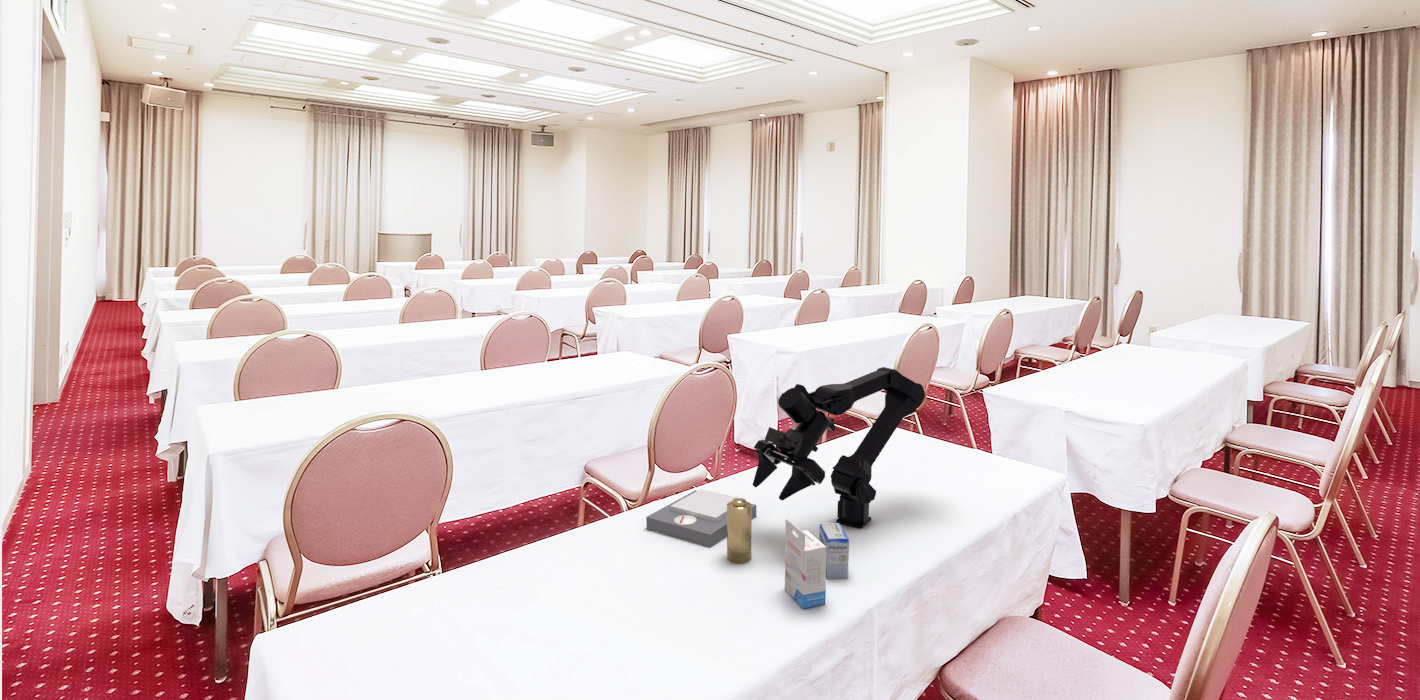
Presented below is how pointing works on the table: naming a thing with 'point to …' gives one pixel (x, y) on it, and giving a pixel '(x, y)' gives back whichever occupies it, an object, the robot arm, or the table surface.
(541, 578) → the table surface
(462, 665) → the table surface
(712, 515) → the scale
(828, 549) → the medicine box
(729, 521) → the brass weight
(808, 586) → the ink box
